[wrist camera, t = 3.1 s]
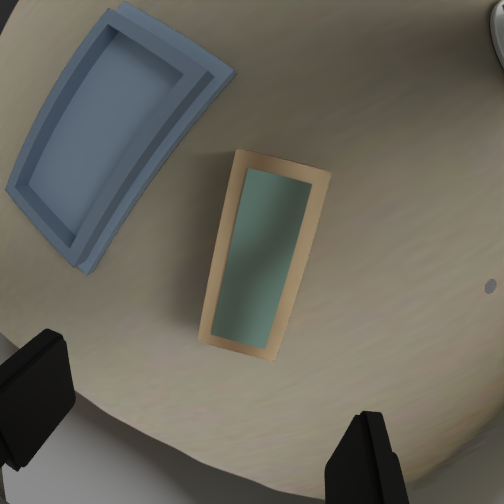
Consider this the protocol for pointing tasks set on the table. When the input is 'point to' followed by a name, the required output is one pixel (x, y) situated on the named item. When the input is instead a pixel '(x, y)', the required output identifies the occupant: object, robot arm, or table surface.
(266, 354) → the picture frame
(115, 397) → the table surface
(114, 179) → the blue tray
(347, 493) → the robot arm
